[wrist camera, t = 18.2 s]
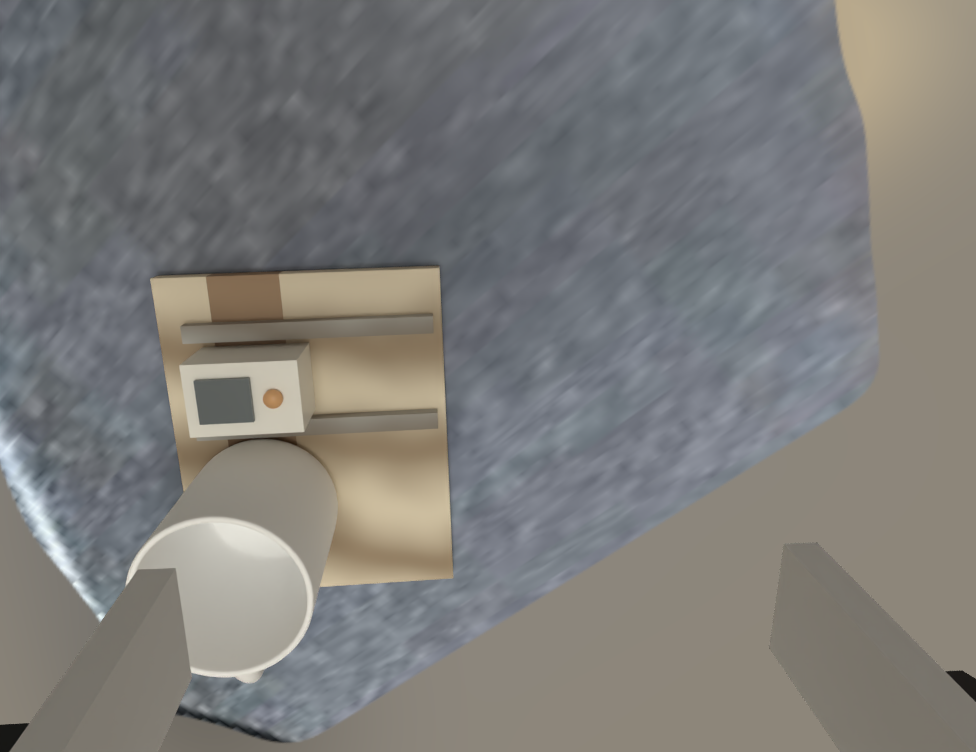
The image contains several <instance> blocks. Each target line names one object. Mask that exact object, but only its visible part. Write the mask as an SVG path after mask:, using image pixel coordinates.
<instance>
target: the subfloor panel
mask: <svg viewBox="0 0 976 752" xmlns="http://www.w3.org/2000/svg"><path fill="white" fill-rule="evenodd" d="M150 280H151V287H152V293H153V299H154V306H155V312H156V319H157V325H158V331H159V338H160V344H161V350H162V357H163V363H164V370H165V376H166V382H167V389H168V395H169V401H170V408H171V414H172V421H173V427H174V433H175V440H176V446H177V452H178V459H179V465H180V472H181V478H182V484H183V491H184V492H185V490H186V489H187V488H188V487H189V485H190V484H191V483H192V481H193V480H194V479H195V477H196V476H197V475H198V474H199V472H200V471H201V470H202V469H203V467H204V466H205V465H206V464H207V463H208V462H209V461H210V460H211V459H212V458H213V457H214V456H216V455H217V454H218V453H220V452H221V451H223V450H224V449H226V448H228V447H230V446H232V445H234V444H237V443H240V442H243V441H248V440H254V439H273V440H280V441H284V442H287V443H290V444H293V445H295V446H298V447H300V448H301V449H303V450H305V451H307V452H308V453H309V454H311V455H312V456H314V457H315V458H316V459H317V460H318V461H319V462H320V463H321V464H322V465H323V467H324V468H325V469H326V471H327V472H328V474H329V475H330V477H331V479H332V482H333V484H334V487H335V490H336V494H337V501H338V515H337V521H336V527H335V531H334V534H333V538H332V542H331V546H330V550H329V553H328V557H327V561H326V565H325V569H324V572H323V576H322V580H321V584H320V587H326V586H341V585H357V584H372V583H387V582H402V581H417V580H433V579H448V578H453V562H452V540H451V517H450V495H449V472H448V450H447V427H446V405H445V382H444V360H443V337H442V315H441V292H440V270H439V266H412V267H385V268H357V269H329V270H301V271H273V272H245V273H217V274H189V275H161V276H156V277H153V278H151V279H150ZM289 343H309V346H310V357H311V367H312V377H313V387H314V398H315V411H314V413H313V415H312V417H311V419H310V421H309V423H308V425H307V427H306V429H305V431H304V432H294V433H275V434H255V435H236V436H216V437H197V438H190V434H189V428H188V421H187V414H186V408H185V401H184V394H183V388H182V381H181V375H180V368H179V365H180V364H182V363H183V362H184V361H185V360H187V359H188V358H189V357H191V356H192V355H193V354H194V353H196V352H197V351H198V350H200V349H201V348H202V347H219V346H242V345H266V344H289Z"/></svg>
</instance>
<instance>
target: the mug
mask: <svg viewBox="0 0 976 752" xmlns="http://www.w3.org/2000/svg"><path fill="white" fill-rule="evenodd" d="M337 515H338V501H337V494H336V490H335V487H334V484H333V482H332V479H331V477H330V475H329V474H328V472H327V471H326V469H325V468H324V467H323V465H322V464H321V463H320V462H319V461H318V460H317V459H316V458H315V457H314V456H312V455H311V454H309V453H308V452H307V451H305V450H303V449H301V448H300V447H298V446H295V445H293V444H290V443H287V442H284V441H280V440H273V439H254V440H248V441H243V442H240V443H237V444H234V445H232V446H230V447H228V448H226V449H224V450H223V451H221V452H220V453H218V454H217V455H216V456H214V457H213V458H212V459H211V460H210V461H209V462H208V463H207V464H206V465H205V466H204V467H203V469H202V470H201V471H200V472H199V474H198V475H197V476H196V477H195V479H194V480H193V481H192V483H191V484H190V485H189V487H188V488H187V489H186V490H185V492H184V493H183V494H182V496H181V497H180V498H179V500H178V501H177V502H176V504H175V505H174V506H173V507H172V509H171V510H170V511H169V513H168V514H167V515H166V517H165V518H164V519H163V521H162V522H161V523H160V524H159V526H158V527H157V528H156V530H155V531H154V532H153V534H152V535H151V536H150V538H149V539H148V540H147V541H146V543H145V544H144V545H143V547H142V548H141V549H140V551H139V552H138V553H137V555H136V557H135V558H134V560H133V562H132V564H131V567H130V569H129V572H128V576H127V580H126V586H127V584H128V583H129V581H130V580H131V579H132V577H133V576H134V574H135V573H136V571H137V570H138V569H163V568H176V573H177V580H178V587H179V593H180V600H181V607H182V614H183V621H184V628H185V634H186V641H187V648H188V655H189V662H190V669H191V672H192V673H195V674H199V675H204V676H211V677H236V678H237V679H238V680H240V681H242V682H244V683H254V682H256V681H257V680H259V678H260V677H261V676H262V674H263V671H264V669H266V668H268V667H270V666H272V665H274V664H275V663H277V662H278V661H280V660H281V659H283V658H284V657H285V656H286V655H288V654H289V653H290V652H291V651H292V650H293V649H294V648H295V647H296V646H297V645H298V643H299V642H300V641H301V639H302V638H303V636H304V635H305V633H306V631H307V629H308V626H309V624H310V621H311V617H312V614H313V610H314V606H315V603H316V599H317V595H318V591H319V587H320V584H321V580H322V576H323V572H324V569H325V565H326V561H327V557H328V553H329V550H330V546H331V542H332V538H333V534H334V531H335V527H336V521H337Z"/></svg>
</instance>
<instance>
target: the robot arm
mask: <svg viewBox="0 0 976 752" xmlns="http://www.w3.org/2000/svg"><path fill="white" fill-rule="evenodd" d="M769 649H770V650H771V652H772V653H773V655H774V656H775V657H776V659H777V660H778V662H779V663H780V665H781V666H782V668H783V669H784V671H785V672H786V674H787V675H788V677H789V678H790V679H791V681H792V682H793V684H794V685H795V687H796V688H797V690H798V691H799V693H800V694H801V696H802V697H803V698H804V700H805V701H806V703H807V704H808V706H809V707H810V709H811V710H812V711H813V713H814V715H815V716H816V717H817V719H818V720H819V722H820V723H821V725H822V726H823V727H824V729H825V731H826V732H827V733H828V735H829V736H830V738H831V739H832V741H833V742H834V744H835V745H836V747H837V748H838V750H839V751H840V752H976V679H975V678H974V677H972V676H970V675H969V674H967V673H965V672H964V671H944V670H943V669H942V668H941V667H940V666H939V665H938V664H937V663H936V662H935V661H934V660H933V659H932V658H931V657H930V656H929V655H928V654H927V653H926V652H925V651H924V650H923V649H922V648H921V647H920V646H919V645H918V644H917V643H916V642H915V641H914V640H913V639H912V638H911V637H910V635H909V634H908V633H907V632H906V631H905V630H903V629H902V627H901V626H900V625H899V624H898V623H897V622H895V621H894V620H893V618H892V617H891V616H890V615H889V614H888V613H887V612H886V611H885V610H884V609H882V608H881V606H880V605H879V604H877V602H876V601H875V600H874V599H873V598H872V597H870V595H869V594H868V593H867V592H866V591H865V590H864V589H863V588H862V587H861V586H860V585H859V584H858V583H857V582H856V581H855V580H854V579H853V578H852V577H851V576H850V575H849V574H848V573H847V572H846V571H845V570H844V569H843V568H842V567H841V566H840V565H839V564H838V563H837V562H836V561H835V560H834V559H833V558H832V557H831V556H830V555H829V554H828V553H827V552H826V551H825V550H824V549H823V548H822V547H821V546H820V545H819V544H818V543H791V544H784V546H783V553H782V560H781V568H780V575H779V582H778V589H777V596H776V603H775V610H774V618H773V625H772V632H771V639H770V646H769ZM191 678H192V675H191V669H190V662H189V655H188V648H187V641H186V634H185V628H184V621H183V614H182V607H181V600H180V593H179V587H178V580H177V573H176V568H163V569H138V570H137V571H136V573H135V574H134V576H133V577H132V579H131V580H130V581H129V583H128V584H127V586H126V587H125V588H124V590H123V591H122V593H121V594H120V596H119V597H118V598H117V600H116V601H115V603H114V604H113V605H112V607H111V608H110V610H109V611H108V613H107V614H106V615H105V617H104V618H103V620H102V621H101V623H100V624H99V625H98V627H97V628H96V630H95V631H94V632H93V634H92V635H91V637H90V638H89V640H88V641H87V643H86V644H85V645H84V647H83V648H82V650H81V651H80V652H79V654H78V655H77V657H76V658H75V660H74V661H73V662H72V664H71V665H70V667H69V668H68V669H67V671H66V672H65V674H64V675H63V676H62V678H61V679H60V681H59V682H58V684H57V685H56V687H55V688H54V689H53V691H52V692H51V694H50V695H49V696H48V698H47V699H46V701H45V702H44V703H43V705H42V706H41V708H40V709H39V711H38V712H37V713H36V715H35V716H34V718H33V719H32V721H31V722H30V723H24V724H6V725H0V752H158V751H159V748H160V746H161V744H162V742H163V740H164V737H165V735H166V733H167V731H168V729H169V727H170V724H171V722H172V720H173V718H174V716H175V713H176V711H177V709H178V707H179V705H180V702H181V700H182V698H183V696H184V694H185V691H186V689H187V687H188V685H189V683H190V681H191Z"/></svg>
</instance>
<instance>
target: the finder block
mask: <svg viewBox="0 0 976 752" xmlns="http://www.w3.org/2000/svg"><path fill="white" fill-rule="evenodd" d="M179 368H180V375H181V381H182V388H183V394H184V401H185V408H186V414H187V421H188V428H189V434H190V438H197V437H216V436H236V435H255V434H275V433H294V432H304V431H305V429H306V427H307V425H308V423H309V421H310V419H311V417H312V415H313V413H314V411H315V398H314V387H313V377H312V367H311V357H310V346H309V343H289V344H266V345H242V346H219V347H202V348H201V349H200V350H198V351H197V352H196V353H194V354H193V355H192V356H191V357H189V358H188V359H187V360H185V361H184V362H183V363H182V364H180V365H179Z"/></svg>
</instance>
